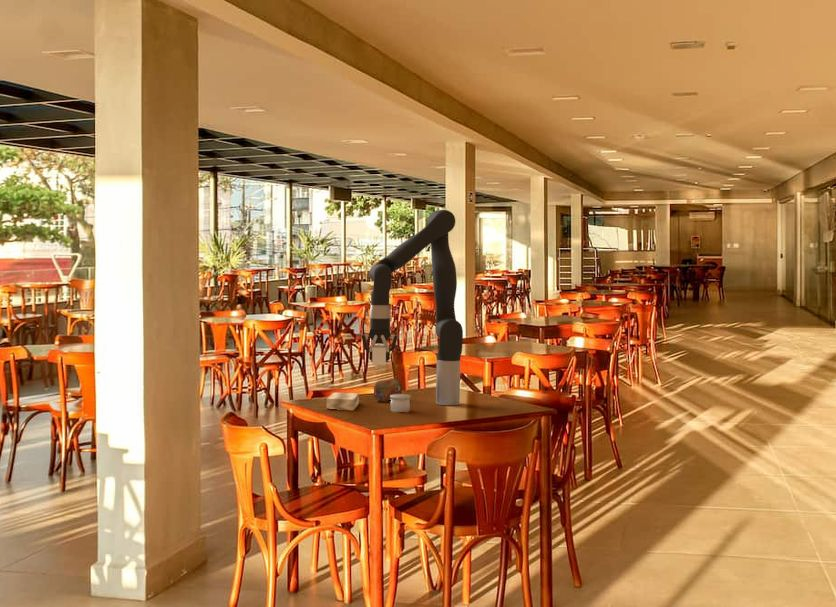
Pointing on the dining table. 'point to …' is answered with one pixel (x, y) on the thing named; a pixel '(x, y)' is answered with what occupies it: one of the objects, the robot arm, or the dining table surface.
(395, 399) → the sugar bowl
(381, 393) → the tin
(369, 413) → the dining table surface
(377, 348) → the green and cream block
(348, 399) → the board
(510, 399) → the dining table surface
